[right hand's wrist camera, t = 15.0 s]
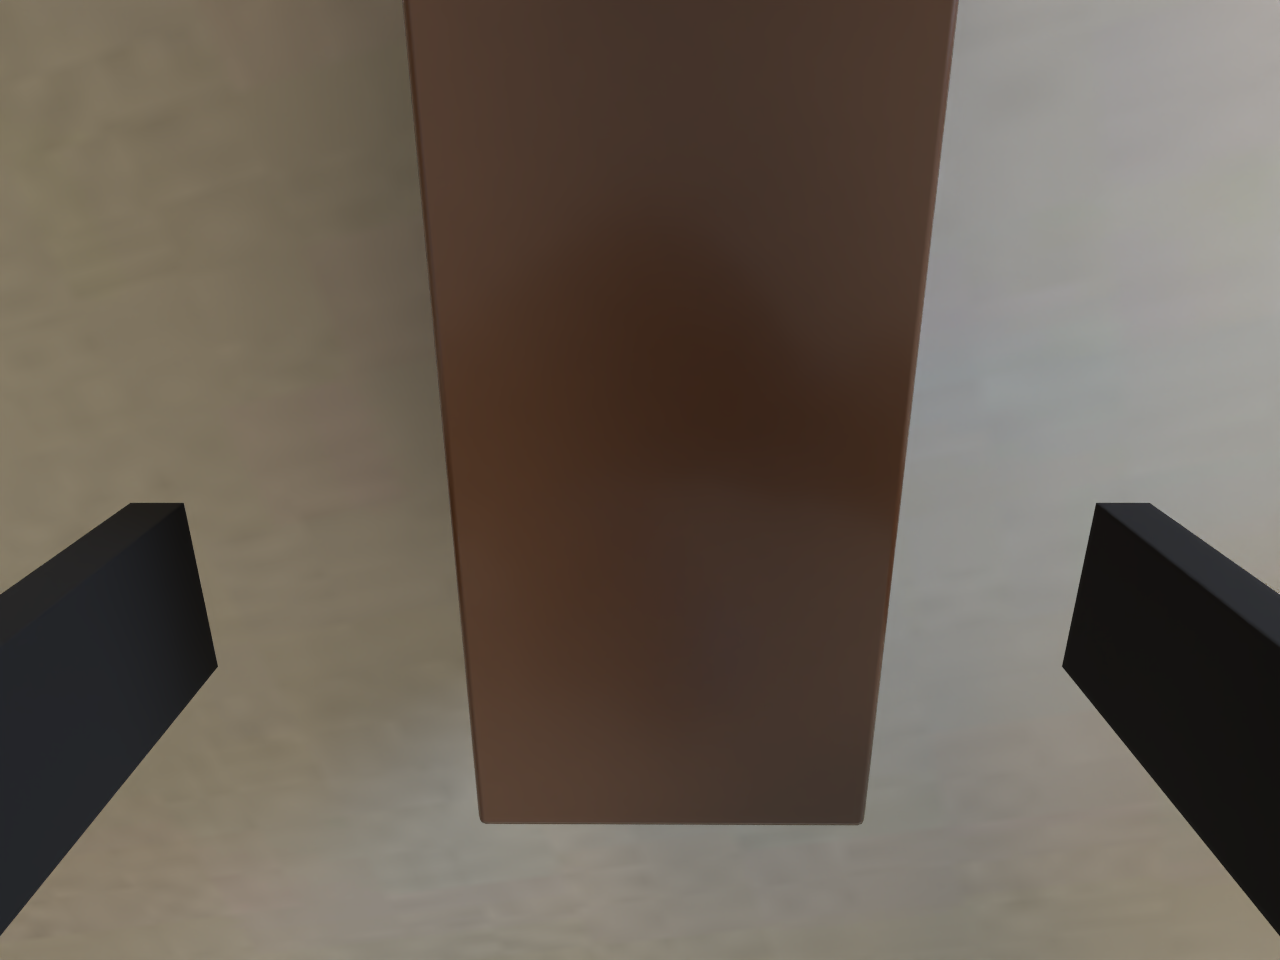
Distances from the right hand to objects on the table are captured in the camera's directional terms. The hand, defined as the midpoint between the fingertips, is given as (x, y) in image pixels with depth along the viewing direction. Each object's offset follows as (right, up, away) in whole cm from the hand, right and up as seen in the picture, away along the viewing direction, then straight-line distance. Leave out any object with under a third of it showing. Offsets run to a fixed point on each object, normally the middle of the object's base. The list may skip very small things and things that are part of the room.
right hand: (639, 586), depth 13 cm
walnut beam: (0, +11, +2) cm, 11 cm away
